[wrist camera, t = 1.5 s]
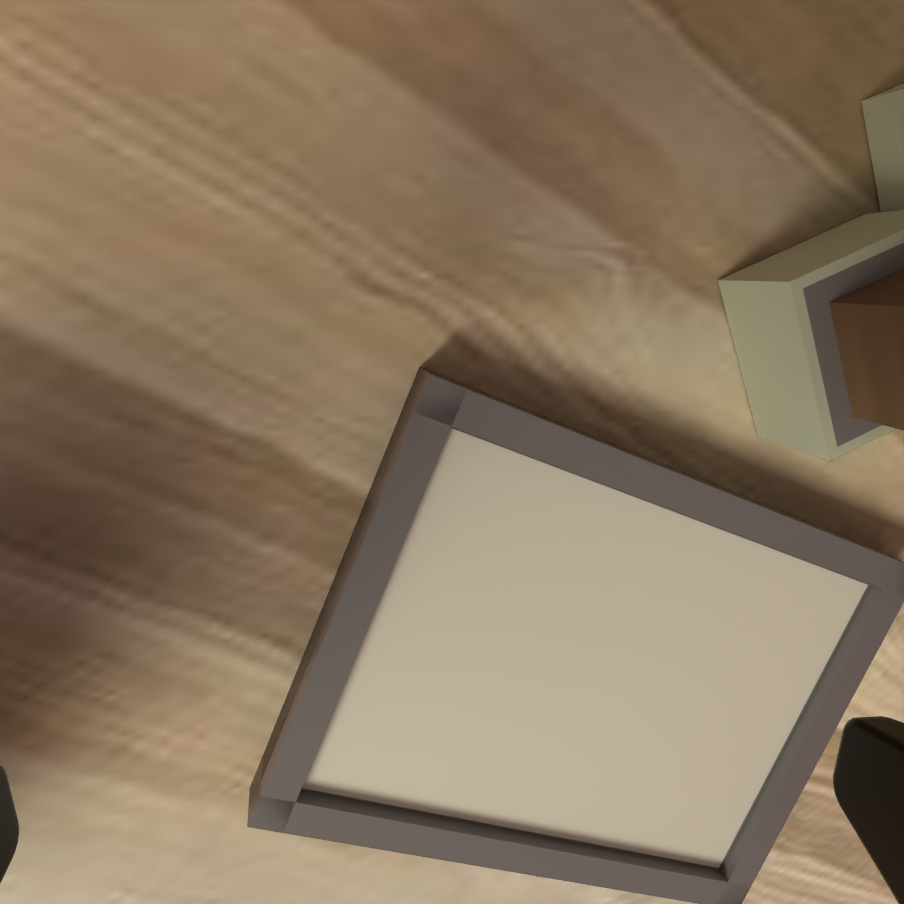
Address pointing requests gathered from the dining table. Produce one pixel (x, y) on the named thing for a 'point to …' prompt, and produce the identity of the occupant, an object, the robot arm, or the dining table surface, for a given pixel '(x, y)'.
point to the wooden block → (873, 349)
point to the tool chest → (818, 307)
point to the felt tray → (569, 661)
